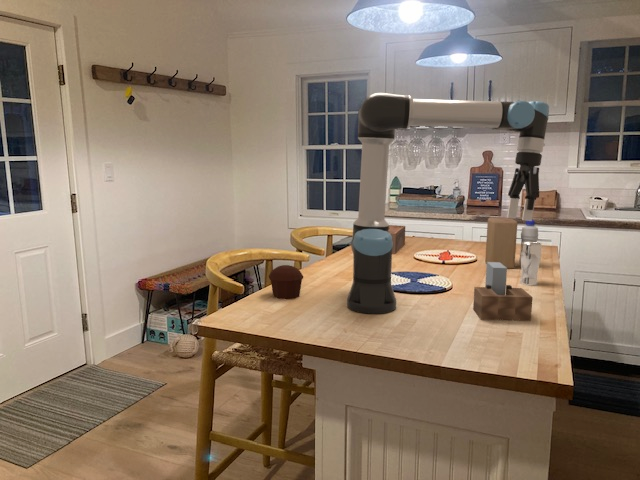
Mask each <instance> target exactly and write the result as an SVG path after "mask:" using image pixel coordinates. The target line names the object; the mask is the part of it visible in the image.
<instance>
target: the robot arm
mask: <svg viewBox="0 0 640 480" xmlns="http://www.w3.org/2000/svg"><path fill="white" fill-rule="evenodd" d="M549 113H550V106H549V104H548V103H547V102H544V101H537V100H536V101H535V100H534V101H533V100H532V101H526V100H517V101H516V100H515V101H497V100H495V101H494V100H468V99H467V100H465V99H464V100H462V99H459V100H458V99H427V98H426V99H425V98H413V97H412V96H411V95H409V94H395V93H393V94H392V93H389V92H388V93H387V92H375V93H372V94H369V96H367V97H366V98H365V99H364V100H363V102H362V103H361V104H360V105H359V108H358V112H357V119H358V126H357V127H358V128H357V132H358V133H357V140H359V141H360V143H361V162H360V179H359V180H360V181H359V182H360V183H359V200H358V217H357V218H356V219H355V220H354V221H353V223H352V225H353V227H352V236H351V237H352V239H351V241H350V243H351V245H350V246H351V250H352V253H353V254H352V255H353V267H352V268H353V269H352V271H353V275H352V276H353V278H352V279H353V280H352V284H351V287H350V290H349V293H348V295H347V299H346V301H347V302H346V307H347V308H348V309H350V310H351V311H354V312H357V313H361V314H369V315H370V314H373V315H374V314H376V315H377V314H386V313H390V312H393V311H395V310H396V309H397V298H396V295H395V292H394V287H393V286H392V263H393V254H392V246H393V241H392V236H391V234H390V233H389V232H388V230H389V225H390V224H389V223H388V221H386V219H385V217H386V216H385V215H386V203H387V202H386V200H387V188H388V187H387V184H388V171H389V170H388V167H389V156H390V155H389V153H390V145H391V143H393V142H394V141H395V135H396V134H395V132H396V130H408V129H409V128H410V127H445V128H446V127H449V128H453V127H455V128H485V129H491V130H498V131H499V130H500V131H507V132H515V133H516V132H517V133H519V136H518V140H517V146H516V147H517V148H516V150H517V151H518V152H516V155H515V161H514V163H515V164H516V165H519V167H516V168H515V169H514V176H513V179H512V180H511V184H510V187H509V190H508V193H507V196H509V204H508V209H507V215H506V218H512V219H517V214H518V207H519V202H520V198H521V196H520V194H521V193H522V190H523V188H525V194H526V195H525V196H524V199H525V200H524V205H523V206H524V207H523V213H522V218H521V220H522V221H525V222H526V221H532V220H533V216H534V209H535V203H536V200H537V199H539V198H540V176H539V174H540V166H541V164H542V157H543V155H542V154H541V153H543V150H544V147H545V146H546V144H545V137H546V132H547V127H548V123H549V122H548V121H549ZM524 186H525V187H524Z"/></svg>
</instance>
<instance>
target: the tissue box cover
mask: <svg viewBox="0 0 640 480" xmlns="http://www.w3.org/2000/svg"><path fill="white" fill-rule="evenodd" d="M388 232H389V233H390V234H391V236H392V241H393V246H392V255H396V254H397V253H398V252H399V251H400V250H401V249H402V248H404V246H405V245H406V226H405V225H397V224H395V225H393V224H389V230H388Z"/></svg>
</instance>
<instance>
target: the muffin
mask: <svg viewBox="0 0 640 480" xmlns="http://www.w3.org/2000/svg"><path fill="white" fill-rule="evenodd" d="M268 279H269V281H270V284H271V290H272V296H273V298H274V299H275V298H276V299H278V300H294V299H297V298H299V297H300V295H301V288H302V282H303V280H304V275H303V274H302V272H301V270H300V269H299V268H297V267H296V266H293V265H289V264H284V265H283V264H282V265H279V266H277V267H275V268H273V269H272V270H271V271H270V273H269V274H268Z"/></svg>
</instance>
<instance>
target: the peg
mask: <svg viewBox="0 0 640 480" xmlns="http://www.w3.org/2000/svg"><path fill="white" fill-rule="evenodd" d="M485 271H486V272H485V282H484V283H485V285H484V287H486V285H491V289H492V290H493V291H494V292H495V293H496V294H497V295H506V285H507V276H508V275H507V274H508V269H507V268H506V267H505V266H504V265H503V264H501V263H500V262H487V264H486V269H485Z"/></svg>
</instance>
